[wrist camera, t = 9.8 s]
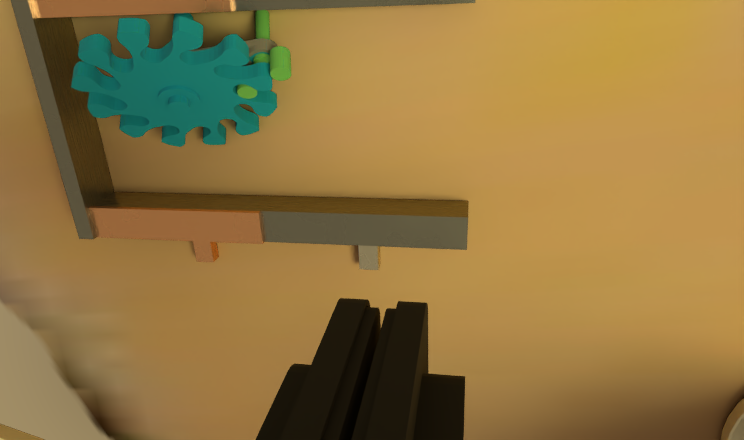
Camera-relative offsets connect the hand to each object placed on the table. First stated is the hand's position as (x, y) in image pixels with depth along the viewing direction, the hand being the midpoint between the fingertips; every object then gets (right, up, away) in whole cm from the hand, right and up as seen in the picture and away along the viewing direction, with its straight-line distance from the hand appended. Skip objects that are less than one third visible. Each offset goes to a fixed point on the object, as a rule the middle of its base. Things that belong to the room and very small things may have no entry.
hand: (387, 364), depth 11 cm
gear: (-9, +11, +21) cm, 26 cm away
